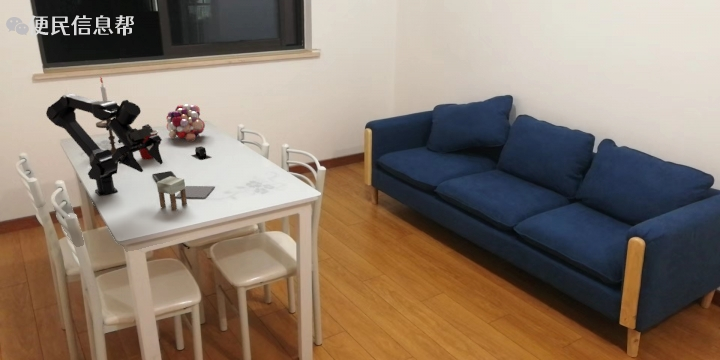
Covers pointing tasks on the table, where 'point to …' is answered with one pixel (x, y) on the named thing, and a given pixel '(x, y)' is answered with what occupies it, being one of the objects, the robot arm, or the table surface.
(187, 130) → the ornament
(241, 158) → the table surface
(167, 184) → the stool
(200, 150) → the black brimmed piece
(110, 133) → the candlestick
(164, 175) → the phone
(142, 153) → the plastic cup
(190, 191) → the mat
